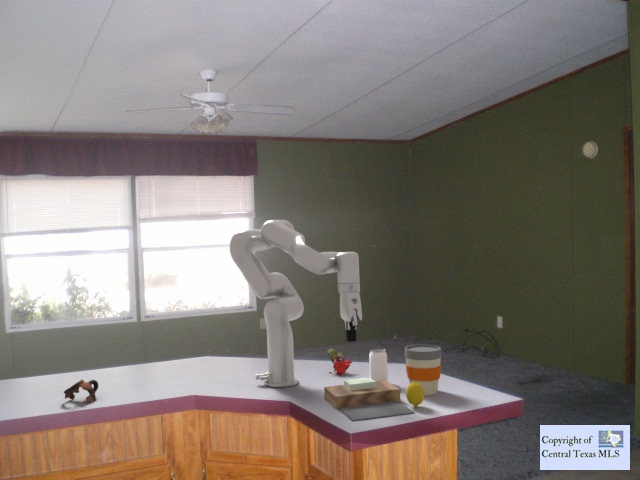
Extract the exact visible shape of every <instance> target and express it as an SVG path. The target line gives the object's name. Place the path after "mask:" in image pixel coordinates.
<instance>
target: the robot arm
mask: <svg viewBox="0 0 640 480" xmlns="http://www.w3.org/2000/svg"><path fill="white" fill-rule="evenodd" d="M275 247H276V248H277V249H279V250H282V251H283V252H285V253H286V254H289V255H290V256H291V258H292V259H293V260H294V262H295V263H296V264H298V265H299V266H300V267H302V268H303V269H306V270H307V271H309V272H311V273H313V274H315V275H318V276H319V275H321V276H322V275H326V274H334V273H337V274H336V275H337V293H339V312H340V313H339V316H340V318H341V319H342V320H343V322H344V325H345V341H346V342H348V343H350V342H356V341H357V326H358V322H361V321H363V312H362V311H363V309H362V301H361V294H360V292H361V285H360V282H361V281H360V278H361V277H360V262H359V261H360V260H359V254H358V252H355V251H343V252H342V251H341V252H339V251H322V252H319V251H317V250H315V249H314V248H312V247H310V246H309V245H307V244H306V238H305V235H303V234H302V233H300V232H298V231H297V230H295V227H294V225H293V224H292V223H291V222H290V221H289V220H286V219H271V220H267V221H265V222H264V223H263V224H261V228H260V229H259V228H258V229H256V228H255V229H253V228H252V229H242V230H239V231H237V232H234V234H233V235H232V237H231V240H230V242H229V254H230V256H231V258H232V261H233V262H234V263H235V265H236V267H238V269H239V271H240V272H241V274H242V275H243V277H244V279H245V280H246V282H247V283H248V284H249V285H248V286H250V288H251V290H252V291H253V293H254V295H255V296H256V297H257V298H258V299H261V300H267V299H268V300H269V299H270V300H269V301H268V302H267V303H266V304H265V305H264V308H263V319H264V322H265V328H266V343H267V344H266V345H267V348H266V349H267V370H265V372H263V373H258V374H257V373H256V374H254V375H255V380H256V381H257V380H260V381H264V382H263V383H264V385H265V386H266V387H271V388H286V387H287V388H288V387H292V386H295V385H297V384H298V383H299V377H296V376H295V365H294V364H295V362H294V361H295V359H294V356H295V355H294V335H293V330H292V327H291V324H290V323H291V322H292V321H295V320H297V319H299V318H301V317H302V315H303V314H304V311H305V308H304V302H303V299H301V297H300V295H299V293H298V292H297V290H296V289H295V287H294V286H293V284H292V283H291V281H290V280H289V278H288V277H287V276H286V275H285V274H283V273H281V272H278V271H274V272H269V270H268V269H267V267H265V265H264V262H263V261H262V260H261V259H260V258H259V257H258V256H256V255H255V254H254V252H263V251H267V250H270V249H273V248H275Z"/></svg>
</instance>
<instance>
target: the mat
mask: <svg viewBox="0 0 640 480" xmlns="http://www.w3.org/2000/svg"><path fill="white" fill-rule="evenodd" d="M338 410H339V411H340V412H341V413H342V414H343V415H345V417H347V418H348V419H349V420H350V421H351V422H357V421H358V422H359V421H366V420H367V421H368V420H375V419H379V418H380V419H381V418H389V417H390V418H391V417H397V416H403V415H410V414H411V415H412V414H415V413H416V412H415V411H414V410H413V409H410V408H409V407H408V406H406V405H405V404H404V403H402V402H401V401H400V402H399V401H394V402H386V403H378V404H369V405H361V406H353V407H345V408H339V409H338Z"/></svg>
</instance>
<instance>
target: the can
mask: <svg viewBox="0 0 640 480" xmlns="http://www.w3.org/2000/svg"><path fill="white" fill-rule="evenodd" d="M369 351H370V352H369V355H368V356H369V357H368V362H369V363H368V365H369V378H371V379H373V380H374V381H382V380H386V381H388V379H389V377H388V374H389V371H388V354H387V352H386V349H385V348H372V349H370V350H369ZM388 382H389V381H388Z"/></svg>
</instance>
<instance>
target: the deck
mask: <svg viewBox="0 0 640 480" xmlns="http://www.w3.org/2000/svg"><path fill="white" fill-rule="evenodd" d="M323 388H324V389H323V391H324V392H323V393H324V394H323V395H324V400H325V401H326V402H327V403H328V404H330V406H332V408H334V409H335V410H339V408H345V407H353V406H361V405H369V404H378V403H386V402H394V401H399V402H400V403H401V389H400V388H399V387H397V386H396V385H394V384H393V383H391V382H389V381H386V380H382V381H376V388H369V389H361V390H352V391H350V390H349V389H347V388H346V387H345V386H344V384H338V385H330V386H324V387H323Z"/></svg>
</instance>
